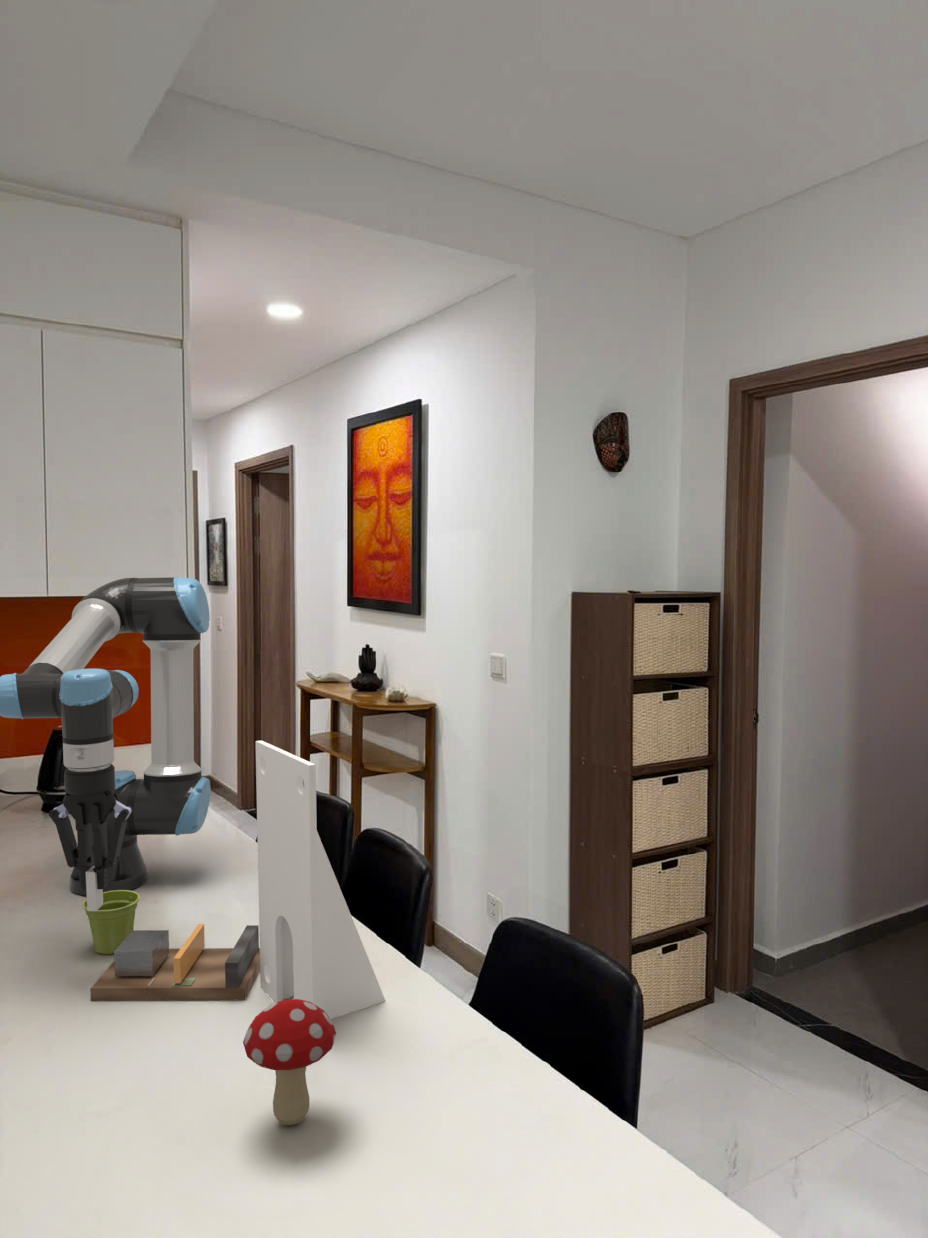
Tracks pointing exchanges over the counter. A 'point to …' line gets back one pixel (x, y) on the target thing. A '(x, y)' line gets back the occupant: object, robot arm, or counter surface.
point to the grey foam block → (141, 953)
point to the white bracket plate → (303, 897)
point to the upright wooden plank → (188, 953)
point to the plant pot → (112, 919)
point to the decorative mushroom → (289, 1051)
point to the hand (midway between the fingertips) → (95, 907)
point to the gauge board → (190, 976)
